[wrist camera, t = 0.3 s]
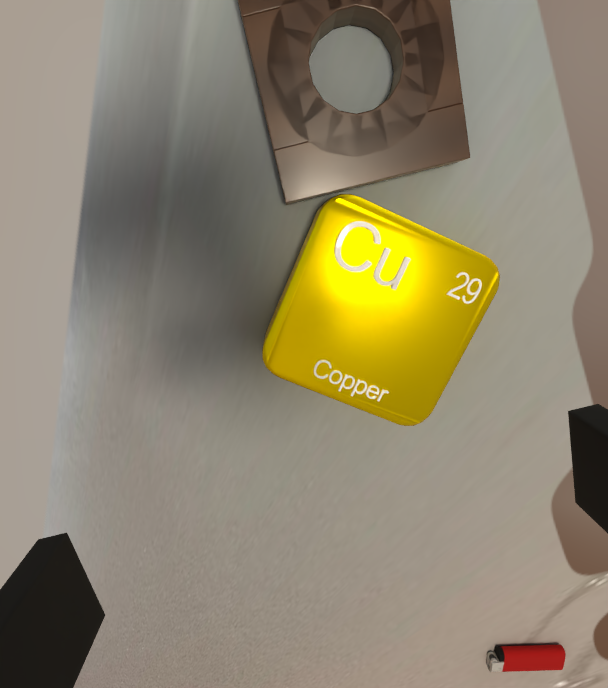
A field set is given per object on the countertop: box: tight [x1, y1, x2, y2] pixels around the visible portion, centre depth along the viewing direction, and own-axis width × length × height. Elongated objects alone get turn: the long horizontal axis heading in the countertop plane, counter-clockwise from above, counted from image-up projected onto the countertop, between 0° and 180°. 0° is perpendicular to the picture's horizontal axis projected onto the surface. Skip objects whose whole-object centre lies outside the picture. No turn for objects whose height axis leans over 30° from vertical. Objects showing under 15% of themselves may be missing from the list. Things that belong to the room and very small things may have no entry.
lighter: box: [487, 645, 565, 672], centre depth 49 cm, size 3×1×8 cm
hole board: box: [238, 0, 470, 205], centre depth 32 cm, size 16×14×3 cm
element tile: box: [262, 194, 500, 426], centre depth 36 cm, size 15×15×5 cm
